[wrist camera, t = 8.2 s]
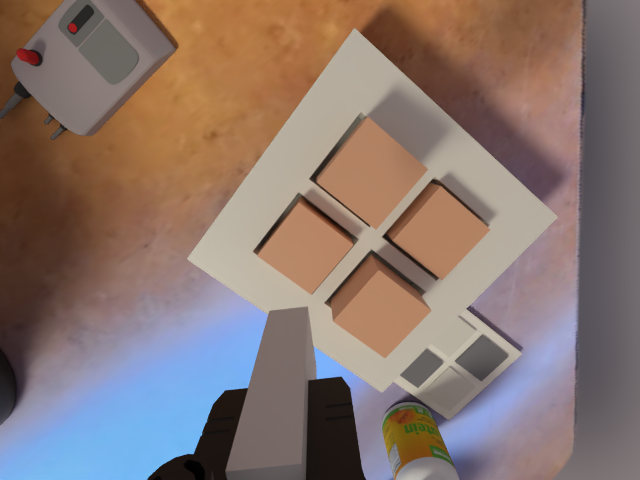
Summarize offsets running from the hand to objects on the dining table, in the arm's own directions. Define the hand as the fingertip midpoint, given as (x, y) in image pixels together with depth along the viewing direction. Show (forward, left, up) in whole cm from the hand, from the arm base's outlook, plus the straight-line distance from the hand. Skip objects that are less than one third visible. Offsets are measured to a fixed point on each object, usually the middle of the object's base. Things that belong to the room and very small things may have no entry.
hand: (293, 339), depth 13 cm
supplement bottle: (+21, -9, -17) cm, 28 cm away
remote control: (-21, 0, -17) cm, 27 cm away
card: (+19, -1, -16) cm, 25 cm away
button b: (+7, 0, -13) cm, 15 cm away
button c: (0, +7, -13) cm, 15 cm away
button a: (+7, +7, -15) cm, 18 cm away
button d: (0, 0, -15) cm, 15 cm away
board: (+4, +4, -16) cm, 17 cm away
